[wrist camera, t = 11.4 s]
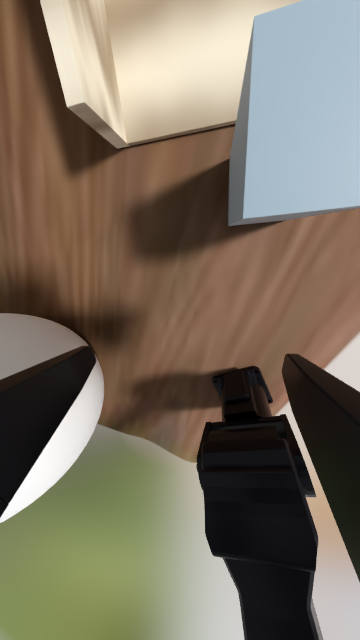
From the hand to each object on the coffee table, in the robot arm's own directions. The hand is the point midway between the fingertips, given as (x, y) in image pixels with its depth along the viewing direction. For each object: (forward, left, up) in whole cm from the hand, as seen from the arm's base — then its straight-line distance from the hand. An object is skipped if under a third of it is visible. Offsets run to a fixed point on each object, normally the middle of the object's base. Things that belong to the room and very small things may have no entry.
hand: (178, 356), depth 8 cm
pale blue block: (+5, -8, -13) cm, 16 cm away
